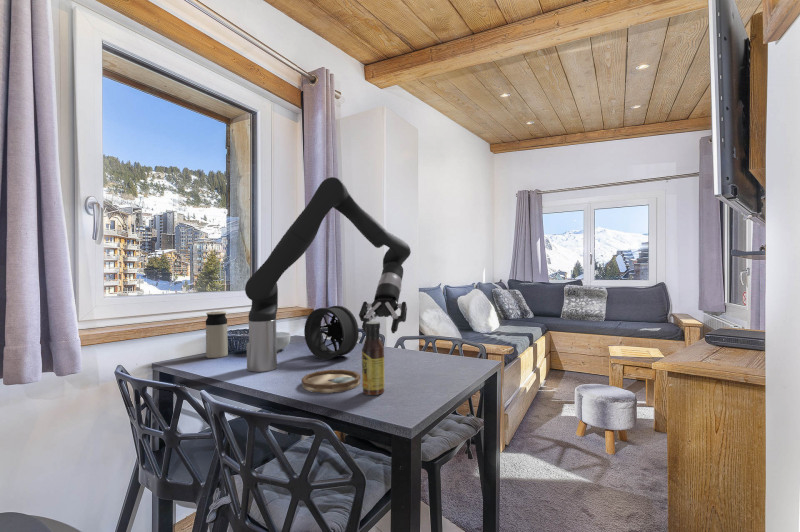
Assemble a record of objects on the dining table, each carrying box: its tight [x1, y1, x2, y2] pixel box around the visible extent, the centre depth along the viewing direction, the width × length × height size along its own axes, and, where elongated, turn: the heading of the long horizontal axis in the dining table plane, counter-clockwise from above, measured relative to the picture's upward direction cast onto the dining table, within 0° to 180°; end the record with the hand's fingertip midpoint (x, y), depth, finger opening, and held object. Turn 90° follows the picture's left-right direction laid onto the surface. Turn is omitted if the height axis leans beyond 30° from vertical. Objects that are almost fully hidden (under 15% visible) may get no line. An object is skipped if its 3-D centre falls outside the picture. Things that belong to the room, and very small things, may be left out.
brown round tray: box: [301, 369, 362, 394], centre depth 121 cm, size 17×17×2 cm
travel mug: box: [205, 310, 229, 359], centre depth 164 cm, size 8×8×18 cm
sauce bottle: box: [361, 320, 386, 396], centre depth 112 cm, size 7×6×20 cm
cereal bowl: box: [276, 331, 291, 352], centre depth 173 cm, size 17×17×7 cm
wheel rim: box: [303, 305, 360, 361], centre depth 158 cm, size 20×9×20 cm, turn 60°
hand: (378, 331), depth 118 cm, fingers open, 8 cm apart
